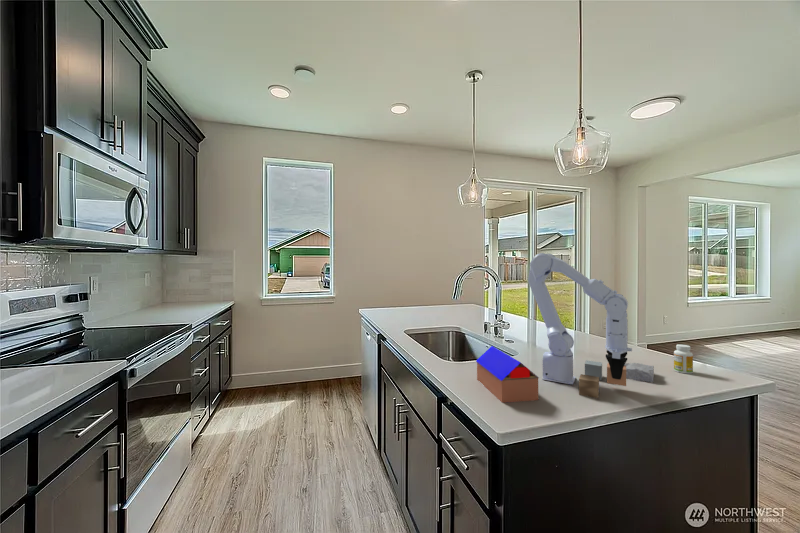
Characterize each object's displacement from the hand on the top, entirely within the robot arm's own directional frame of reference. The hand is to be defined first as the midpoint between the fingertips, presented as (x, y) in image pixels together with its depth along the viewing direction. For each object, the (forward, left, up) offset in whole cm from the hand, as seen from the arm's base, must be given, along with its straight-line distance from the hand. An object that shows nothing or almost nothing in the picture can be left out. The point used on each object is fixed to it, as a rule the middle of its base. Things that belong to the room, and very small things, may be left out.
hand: (616, 376), depth 105 cm
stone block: (+6, +20, -5) cm, 21 cm away
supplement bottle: (+20, +34, -5) cm, 40 cm away
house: (-30, -18, -5) cm, 35 cm away
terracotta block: (0, 0, -2) cm, 2 cm away
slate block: (-7, +10, -5) cm, 13 cm away
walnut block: (-7, -8, -5) cm, 12 cm away
